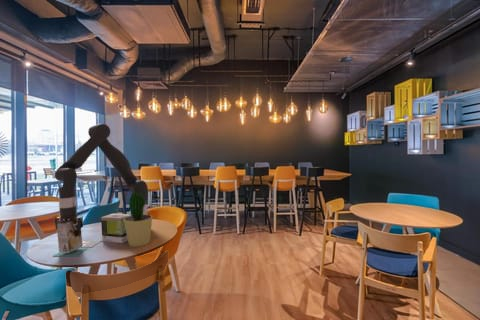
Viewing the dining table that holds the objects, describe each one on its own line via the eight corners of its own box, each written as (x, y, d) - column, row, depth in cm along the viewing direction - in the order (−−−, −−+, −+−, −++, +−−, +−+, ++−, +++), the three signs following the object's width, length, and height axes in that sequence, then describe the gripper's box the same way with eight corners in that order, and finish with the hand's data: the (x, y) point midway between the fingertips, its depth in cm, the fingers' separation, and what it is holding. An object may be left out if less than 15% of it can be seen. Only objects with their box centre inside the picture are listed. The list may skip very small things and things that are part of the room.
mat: (87, 248, 146) (87, 248, 146) (75, 256, 136) (75, 255, 136) (66, 248, 146) (66, 248, 146) (52, 256, 136) (52, 256, 136)
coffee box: (72, 245, 146) (70, 217, 145) (82, 246, 145) (80, 217, 144) (58, 252, 137) (56, 222, 136) (68, 253, 136) (66, 222, 135)
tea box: (134, 237, 162) (133, 214, 161) (121, 243, 152) (120, 218, 151) (114, 235, 167) (113, 212, 166) (101, 241, 157) (100, 216, 156)
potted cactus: (142, 249, 143) (139, 194, 141) (118, 246, 148) (115, 193, 146) (158, 239, 158) (156, 189, 156) (137, 237, 162) (134, 188, 161)
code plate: (101, 240, 158) (101, 240, 158) (91, 247, 148) (91, 246, 148) (75, 241, 159) (75, 240, 159) (63, 247, 149) (63, 247, 149)
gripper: (85, 203, 143) (87, 234, 144) (59, 204, 144) (61, 234, 145) (76, 207, 136) (78, 239, 137) (49, 207, 136) (51, 239, 137)
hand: (70, 236), depth 141 cm, fingers closed on coffee box, 7 cm apart
